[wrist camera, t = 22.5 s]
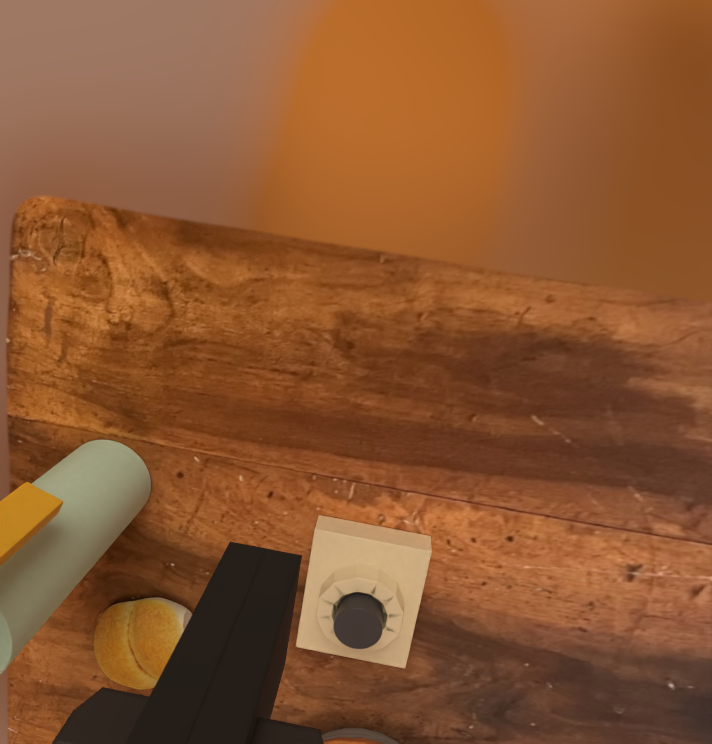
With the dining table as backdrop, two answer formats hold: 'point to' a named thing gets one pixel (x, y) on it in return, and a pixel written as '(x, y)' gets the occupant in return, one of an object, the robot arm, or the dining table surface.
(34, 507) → the strip
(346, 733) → the pie
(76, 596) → the dining table surface
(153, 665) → the bread roll
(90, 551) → the spray bottle
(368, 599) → the timer button
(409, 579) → the timer
